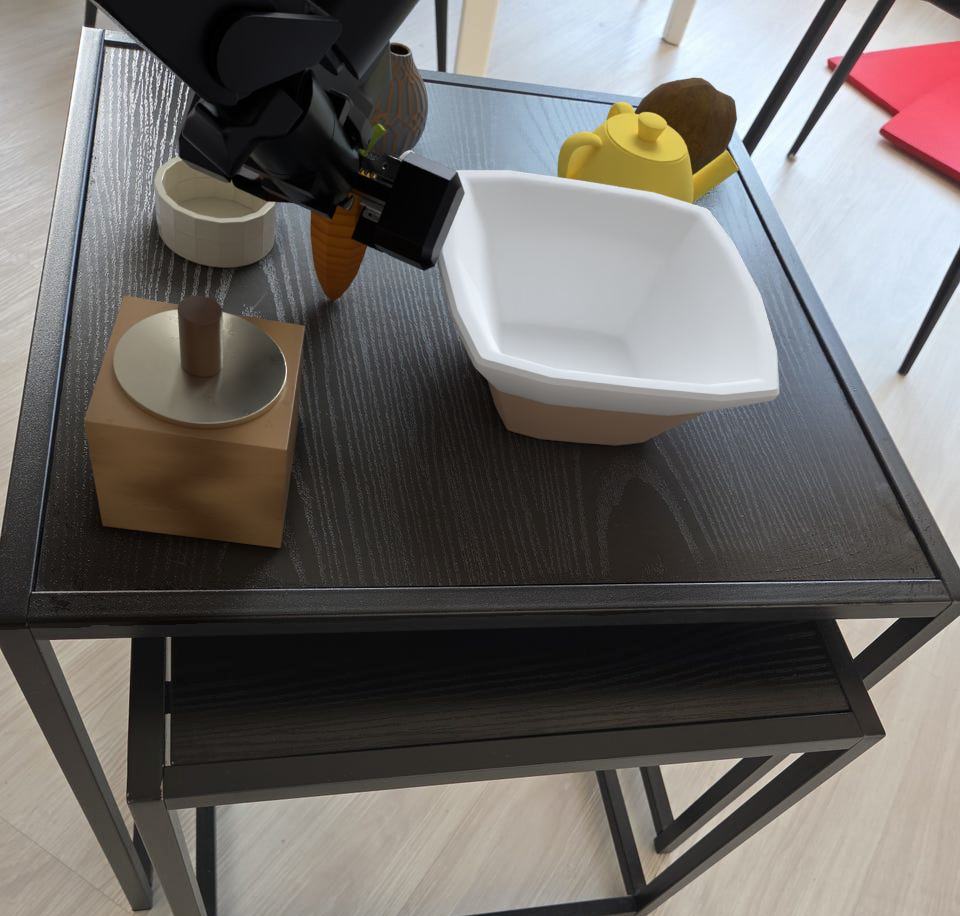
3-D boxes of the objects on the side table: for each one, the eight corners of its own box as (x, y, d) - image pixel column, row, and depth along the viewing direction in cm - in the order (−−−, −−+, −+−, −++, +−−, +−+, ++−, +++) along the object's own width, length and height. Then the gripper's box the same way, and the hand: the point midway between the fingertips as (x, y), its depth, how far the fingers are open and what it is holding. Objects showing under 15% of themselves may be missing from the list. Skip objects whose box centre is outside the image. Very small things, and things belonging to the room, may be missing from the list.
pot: (148, 255, 74) (144, 208, 70) (168, 189, 79) (166, 142, 75) (267, 276, 75) (269, 232, 72) (280, 210, 80) (282, 165, 77)
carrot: (372, 295, 77) (400, 111, 65) (348, 328, 74) (372, 142, 62) (316, 272, 77) (334, 84, 65) (290, 304, 74) (302, 114, 62)
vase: (435, 153, 91) (452, 57, 83) (388, 175, 87) (402, 77, 80) (381, 118, 92) (394, 21, 85) (333, 138, 88) (342, 39, 81)
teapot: (645, 306, 84) (696, 190, 75) (518, 233, 86) (552, 111, 77) (706, 242, 92) (758, 130, 83) (589, 177, 94) (627, 60, 85)
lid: (97, 414, 52) (87, 353, 48) (132, 302, 57) (125, 240, 54) (277, 440, 54) (280, 383, 50) (294, 329, 59) (298, 271, 56)
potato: (735, 197, 98) (774, 113, 91) (632, 187, 95) (664, 100, 88) (709, 151, 103) (744, 67, 95) (609, 140, 99) (638, 53, 92)
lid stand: (102, 526, 59) (83, 420, 51) (136, 404, 65) (123, 294, 58) (280, 548, 61) (287, 450, 53) (297, 428, 67) (304, 325, 60)
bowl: (741, 510, 72) (809, 407, 63) (425, 487, 66) (453, 371, 58) (676, 309, 85) (725, 200, 76) (406, 276, 79) (426, 154, 71)
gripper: (487, 48, 53) (506, 154, 69) (193, -79, 54) (277, 54, 70) (410, 238, 55) (446, 299, 71) (126, 112, 56) (222, 200, 71)
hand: (349, 210), depth 70 cm, fingers closed on carrot, 5 cm apart
